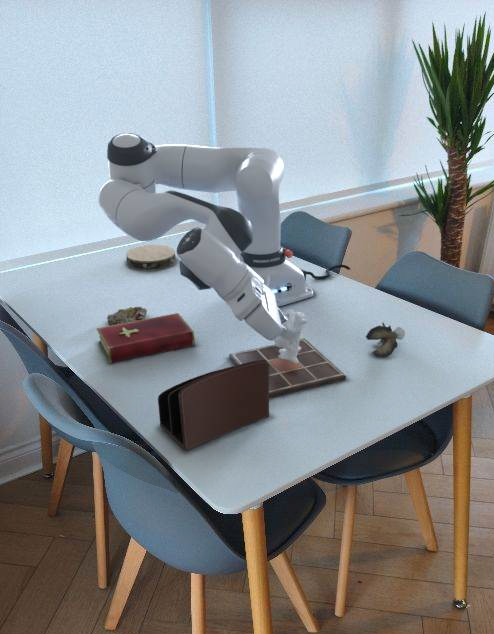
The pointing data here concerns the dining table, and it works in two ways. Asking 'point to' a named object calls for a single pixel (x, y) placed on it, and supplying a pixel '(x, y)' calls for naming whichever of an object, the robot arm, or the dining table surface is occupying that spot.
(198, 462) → the dining table surface
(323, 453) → the dining table surface
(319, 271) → the dining table surface
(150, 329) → the hardcover book
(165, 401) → the letter holder
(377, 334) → the eagle figurine
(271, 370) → the board
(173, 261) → the tambourine
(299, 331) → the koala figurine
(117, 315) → the mineral rock
